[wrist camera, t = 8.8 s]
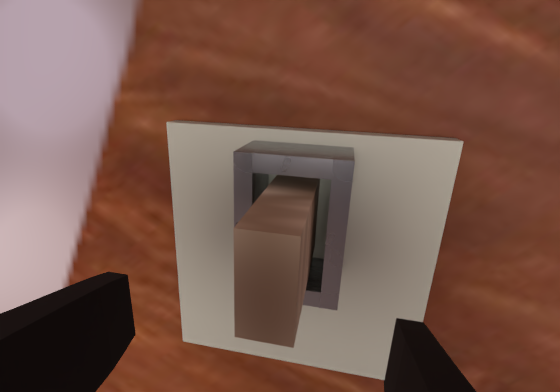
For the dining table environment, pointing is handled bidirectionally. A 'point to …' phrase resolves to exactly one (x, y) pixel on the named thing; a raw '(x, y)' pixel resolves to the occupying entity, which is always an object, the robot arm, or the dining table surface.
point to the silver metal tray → (312, 164)
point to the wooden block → (274, 260)
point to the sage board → (316, 239)
